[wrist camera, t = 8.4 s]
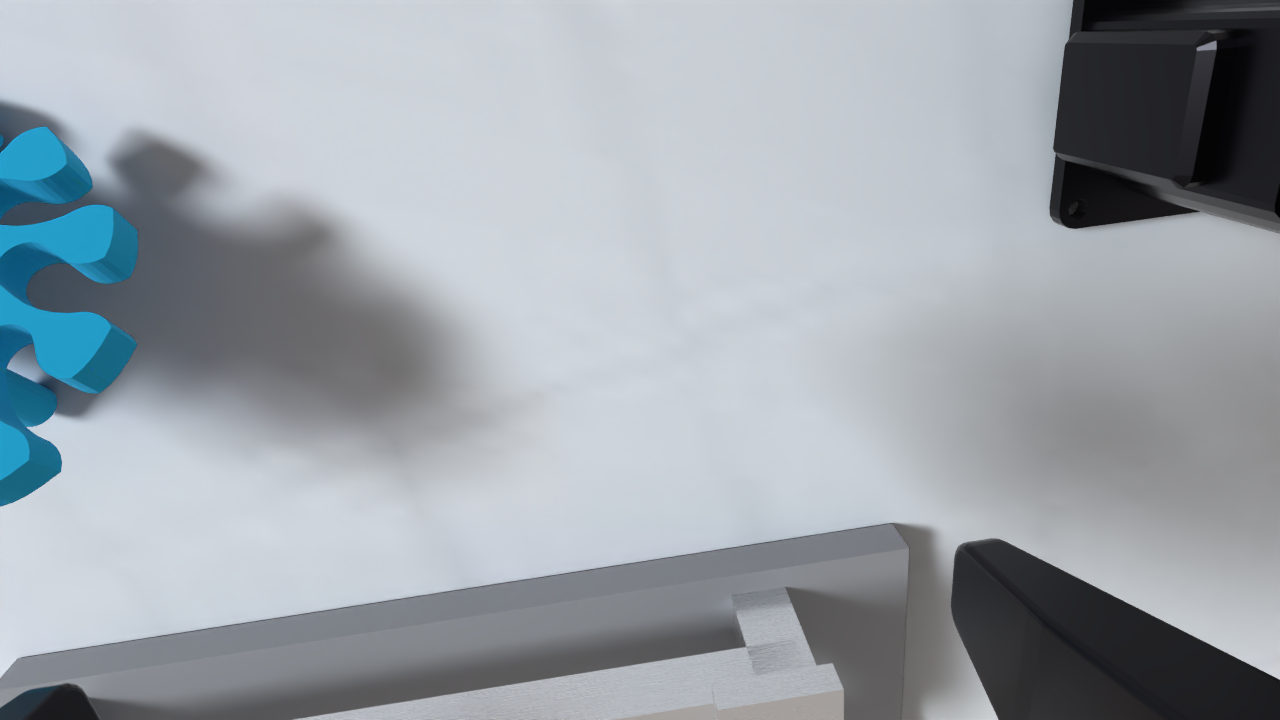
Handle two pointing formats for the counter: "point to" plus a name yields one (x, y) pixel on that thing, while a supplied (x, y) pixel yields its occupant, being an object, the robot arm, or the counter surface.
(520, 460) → the counter surface
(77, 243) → the gear
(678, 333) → the counter surface
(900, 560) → the bolt plate
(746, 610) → the divider frame
